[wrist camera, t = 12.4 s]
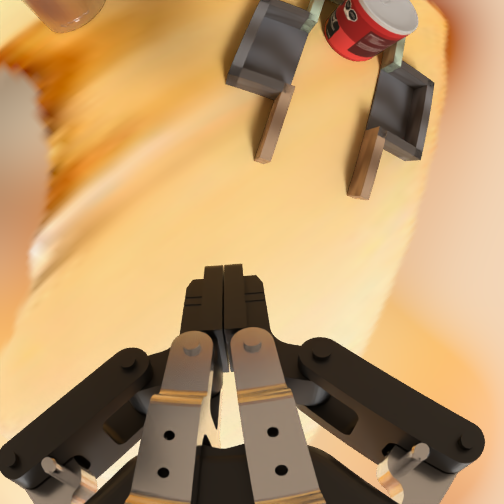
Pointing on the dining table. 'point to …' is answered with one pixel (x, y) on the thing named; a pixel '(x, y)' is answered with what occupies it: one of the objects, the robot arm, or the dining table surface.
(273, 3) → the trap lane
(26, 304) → the dining table surface
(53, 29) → the robot arm
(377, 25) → the canned food
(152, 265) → the dining table surface
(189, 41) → the dining table surface
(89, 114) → the dining table surface
